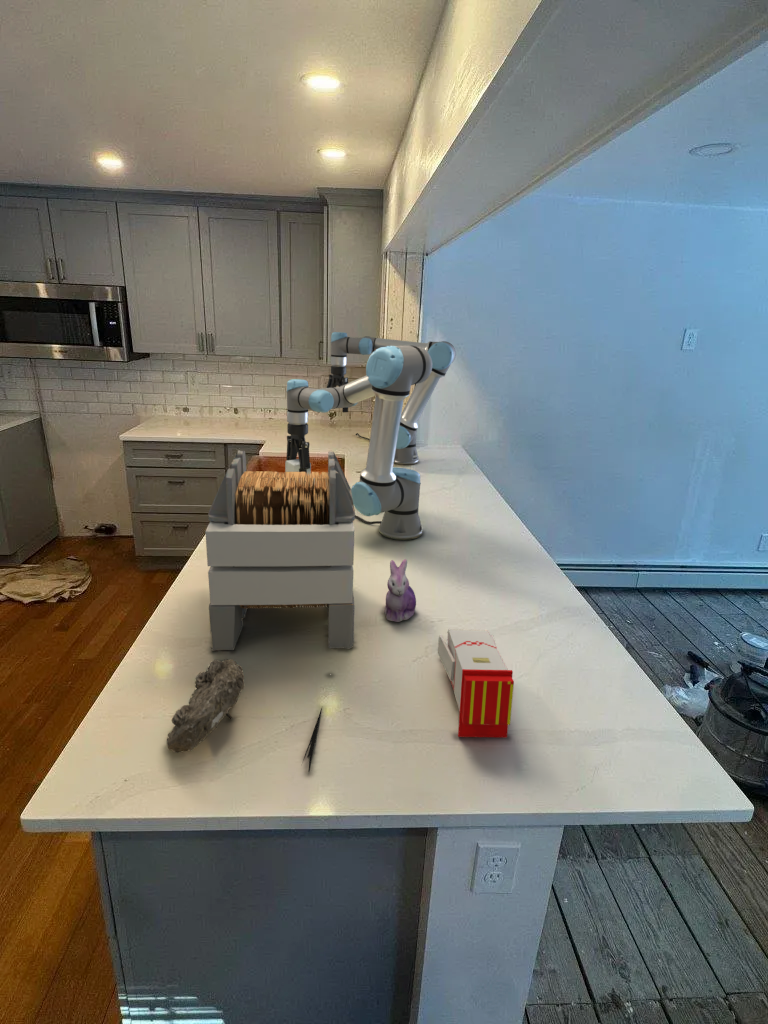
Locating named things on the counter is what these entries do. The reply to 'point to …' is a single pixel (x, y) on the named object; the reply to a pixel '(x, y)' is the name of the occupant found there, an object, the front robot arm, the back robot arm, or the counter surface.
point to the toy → (478, 682)
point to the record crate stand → (281, 548)
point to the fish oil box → (294, 466)
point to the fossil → (206, 705)
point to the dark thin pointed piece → (313, 740)
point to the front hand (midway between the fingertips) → (298, 483)
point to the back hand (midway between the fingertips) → (337, 410)
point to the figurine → (399, 594)
